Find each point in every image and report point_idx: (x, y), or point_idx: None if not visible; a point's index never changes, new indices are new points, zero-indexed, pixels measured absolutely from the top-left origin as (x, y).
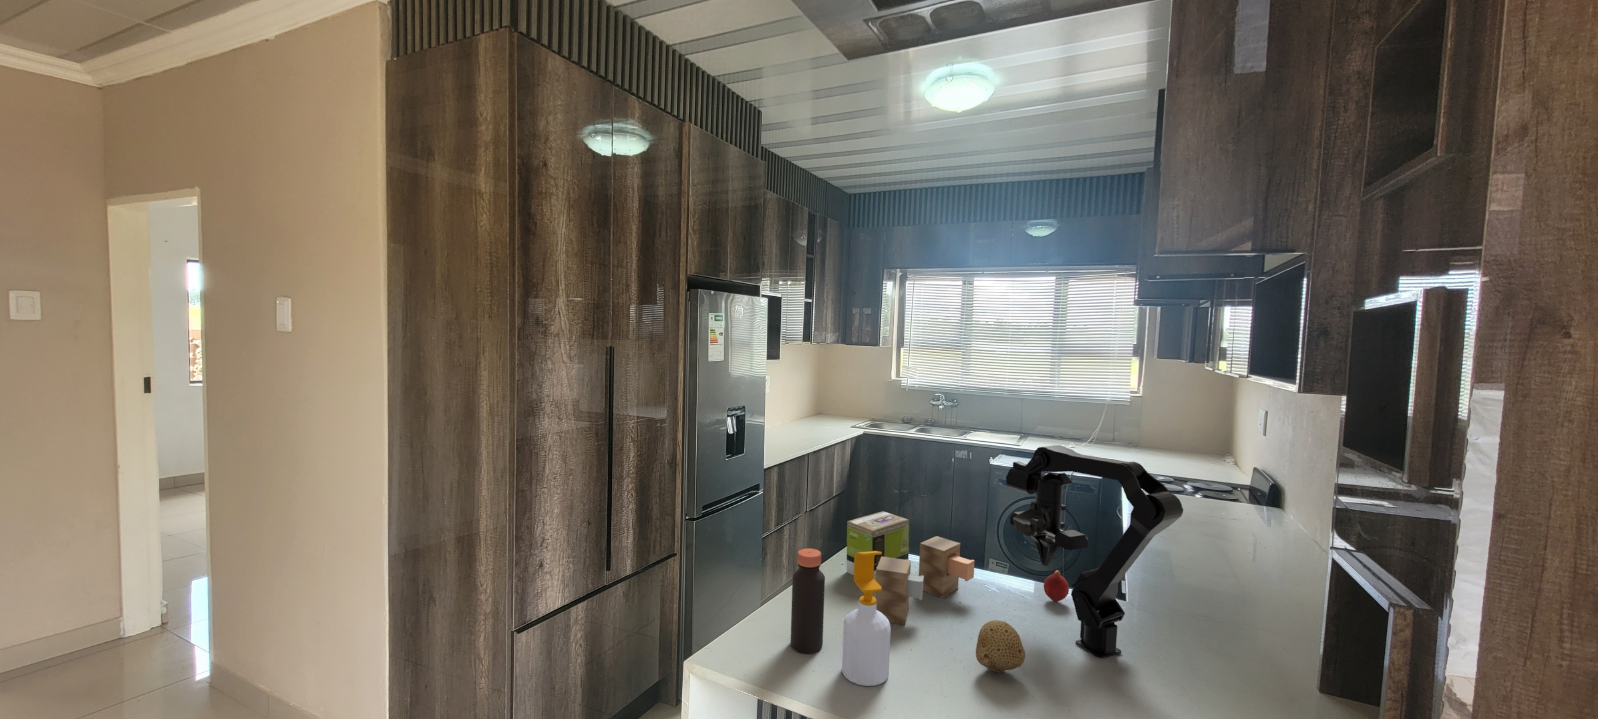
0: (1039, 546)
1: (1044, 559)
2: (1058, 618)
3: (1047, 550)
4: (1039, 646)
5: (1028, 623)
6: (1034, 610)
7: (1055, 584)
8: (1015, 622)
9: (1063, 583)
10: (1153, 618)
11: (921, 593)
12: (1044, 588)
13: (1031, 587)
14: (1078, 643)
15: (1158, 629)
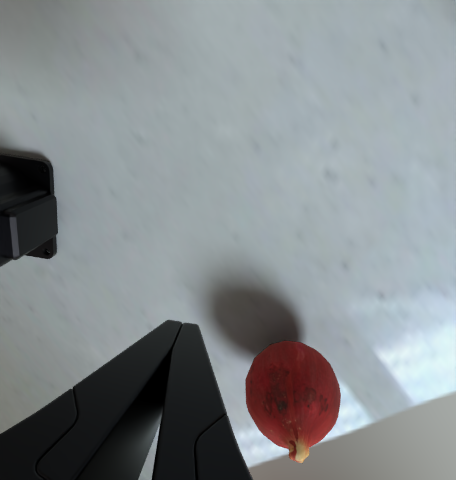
0: (175, 461)
1: (144, 347)
2: (202, 264)
3: (6, 430)
4: (75, 7)
5: (225, 130)
6: (283, 240)
7: (274, 383)
8: (256, 85)
9: (256, 410)
10: None
11: None
12: (319, 356)
13: (402, 374)
14: (32, 159)
15: None
